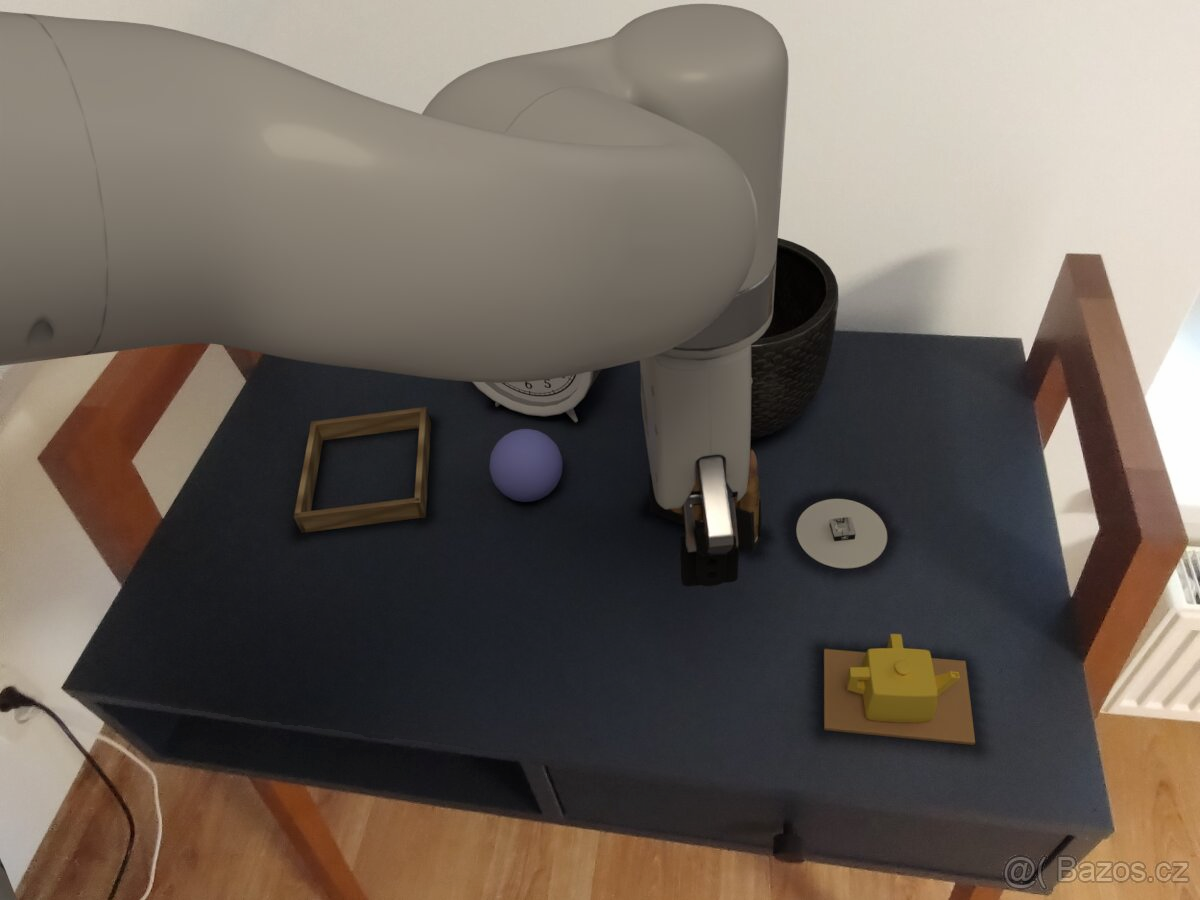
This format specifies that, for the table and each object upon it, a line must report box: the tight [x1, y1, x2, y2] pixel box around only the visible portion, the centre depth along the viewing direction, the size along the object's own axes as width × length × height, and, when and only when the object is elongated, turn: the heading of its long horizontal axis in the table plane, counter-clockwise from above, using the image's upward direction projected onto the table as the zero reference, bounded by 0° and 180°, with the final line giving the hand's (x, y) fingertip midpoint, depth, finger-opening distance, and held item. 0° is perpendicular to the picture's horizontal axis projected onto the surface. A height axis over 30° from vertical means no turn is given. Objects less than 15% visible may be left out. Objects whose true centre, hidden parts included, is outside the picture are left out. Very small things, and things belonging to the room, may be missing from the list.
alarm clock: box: [472, 369, 603, 423], centre depth 93 cm, size 16×9×22 cm, turn 69°
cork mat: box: [823, 648, 976, 746], centre depth 73 cm, size 7×11×1 cm, turn 81°
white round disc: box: [795, 498, 888, 569], centre depth 84 cm, size 8×8×1 cm
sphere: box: [489, 428, 563, 503], centre depth 89 cm, size 7×7×7 cm
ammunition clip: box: [648, 448, 763, 552], centre depth 83 cm, size 11×2×12 cm, turn 60°
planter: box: [750, 237, 840, 442], centre depth 91 cm, size 17×17×16 cm
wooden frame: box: [293, 406, 432, 534], centre depth 94 cm, size 13×12×2 cm
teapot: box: [846, 633, 960, 723], centre depth 71 cm, size 8×6×5 cm
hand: (697, 516), depth 57 cm, fingers open, 9 cm apart
